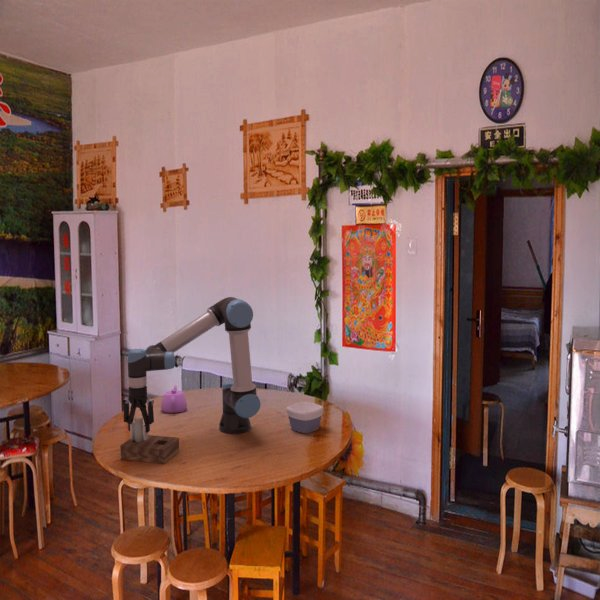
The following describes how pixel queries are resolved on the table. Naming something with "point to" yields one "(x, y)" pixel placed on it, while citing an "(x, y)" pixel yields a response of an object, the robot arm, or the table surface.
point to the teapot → (174, 401)
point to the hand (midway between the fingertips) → (139, 438)
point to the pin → (138, 430)
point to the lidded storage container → (304, 416)
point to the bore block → (150, 449)
